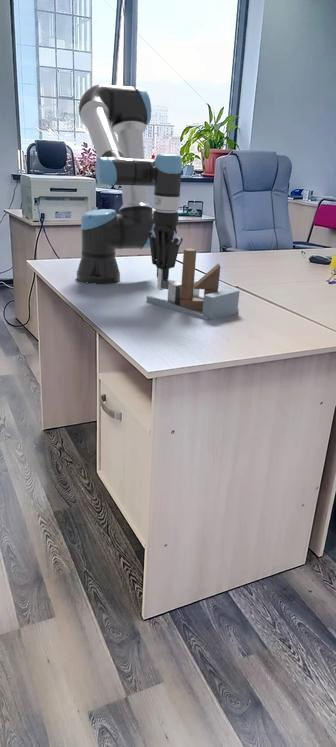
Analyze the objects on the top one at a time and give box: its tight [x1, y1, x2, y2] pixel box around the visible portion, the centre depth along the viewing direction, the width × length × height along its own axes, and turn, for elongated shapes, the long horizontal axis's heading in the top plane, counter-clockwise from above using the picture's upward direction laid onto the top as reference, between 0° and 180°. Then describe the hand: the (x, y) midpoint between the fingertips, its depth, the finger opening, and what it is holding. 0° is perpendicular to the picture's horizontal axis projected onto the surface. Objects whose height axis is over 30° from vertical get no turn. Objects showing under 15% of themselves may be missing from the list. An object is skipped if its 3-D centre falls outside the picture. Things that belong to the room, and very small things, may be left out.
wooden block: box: [179, 247, 221, 312], centre depth 155 cm, size 4×11×18 cm, turn 93°
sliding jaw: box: [161, 278, 201, 306], centre depth 164 cm, size 10×11×7 cm
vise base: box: [146, 288, 241, 321], centre depth 159 cm, size 25×14×8 cm, turn 45°
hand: (161, 288), depth 167 cm, fingers closed
